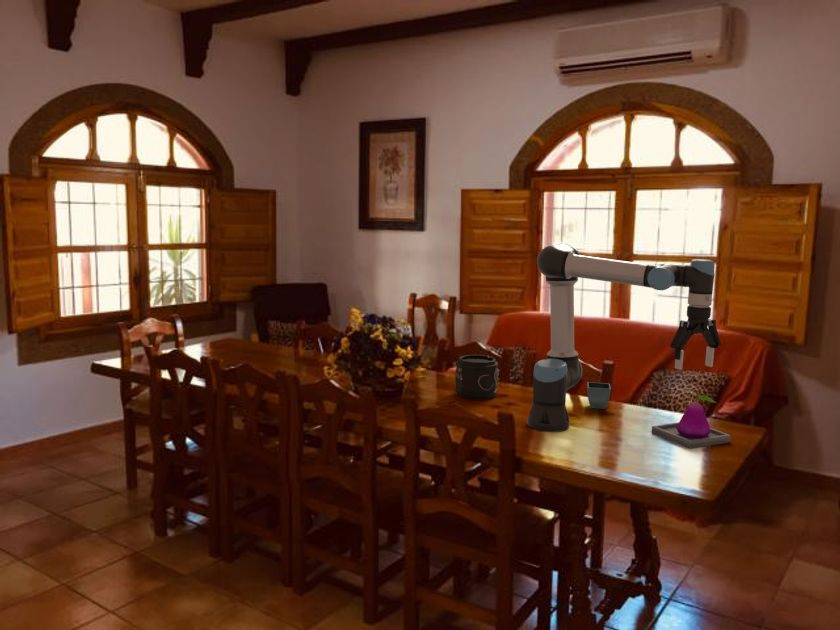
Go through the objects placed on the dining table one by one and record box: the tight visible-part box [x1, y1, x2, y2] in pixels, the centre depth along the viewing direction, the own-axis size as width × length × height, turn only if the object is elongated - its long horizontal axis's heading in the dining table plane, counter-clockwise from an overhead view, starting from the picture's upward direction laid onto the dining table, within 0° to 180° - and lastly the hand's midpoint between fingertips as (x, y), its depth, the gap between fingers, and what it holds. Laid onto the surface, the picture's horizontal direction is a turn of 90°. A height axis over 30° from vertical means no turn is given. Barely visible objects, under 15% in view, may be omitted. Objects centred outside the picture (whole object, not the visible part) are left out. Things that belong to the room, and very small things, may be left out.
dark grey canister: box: [454, 354, 499, 401], centre depth 301 cm, size 18×18×16 cm
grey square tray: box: [651, 421, 731, 450], centre depth 249 cm, size 18×18×2 cm
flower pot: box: [586, 381, 612, 410], centre depth 285 cm, size 9×9×9 cm
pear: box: [676, 392, 717, 439], centre depth 247 cm, size 11×11×15 cm
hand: (693, 367), depth 246 cm, fingers open, 13 cm apart
